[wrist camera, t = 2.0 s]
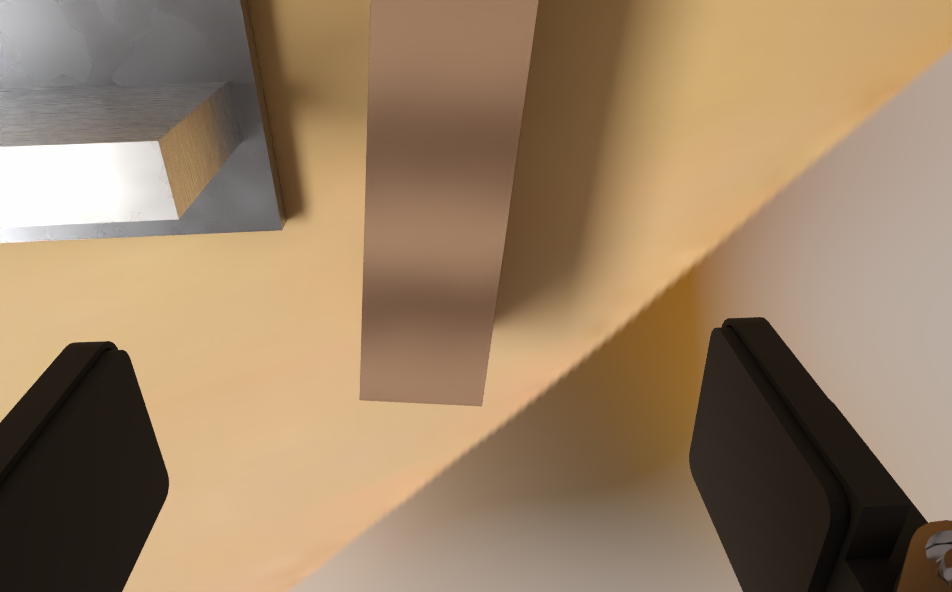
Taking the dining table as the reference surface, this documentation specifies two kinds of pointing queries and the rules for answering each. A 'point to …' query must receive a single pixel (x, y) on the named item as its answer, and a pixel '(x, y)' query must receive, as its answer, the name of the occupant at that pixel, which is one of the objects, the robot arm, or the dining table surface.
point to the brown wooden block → (438, 191)
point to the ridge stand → (132, 121)
